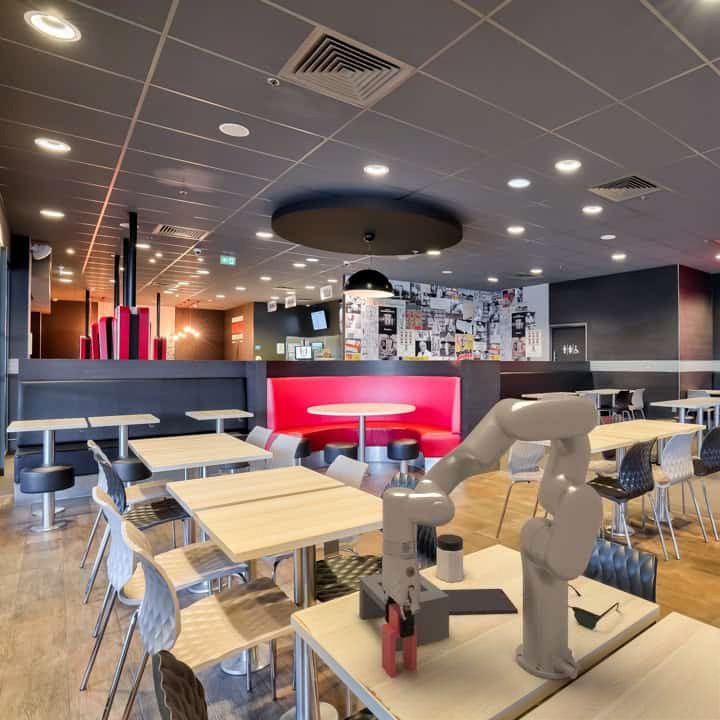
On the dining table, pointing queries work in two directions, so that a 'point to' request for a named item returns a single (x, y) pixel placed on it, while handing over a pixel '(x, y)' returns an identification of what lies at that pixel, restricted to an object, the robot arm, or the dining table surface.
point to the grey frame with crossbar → (429, 618)
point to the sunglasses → (587, 615)
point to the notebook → (479, 602)
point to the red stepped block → (389, 642)
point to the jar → (450, 558)
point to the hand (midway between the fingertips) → (399, 627)
